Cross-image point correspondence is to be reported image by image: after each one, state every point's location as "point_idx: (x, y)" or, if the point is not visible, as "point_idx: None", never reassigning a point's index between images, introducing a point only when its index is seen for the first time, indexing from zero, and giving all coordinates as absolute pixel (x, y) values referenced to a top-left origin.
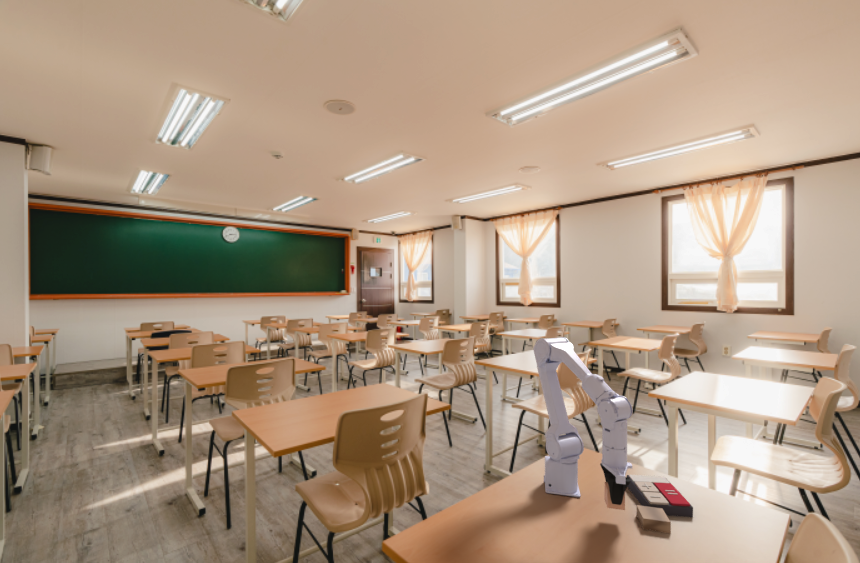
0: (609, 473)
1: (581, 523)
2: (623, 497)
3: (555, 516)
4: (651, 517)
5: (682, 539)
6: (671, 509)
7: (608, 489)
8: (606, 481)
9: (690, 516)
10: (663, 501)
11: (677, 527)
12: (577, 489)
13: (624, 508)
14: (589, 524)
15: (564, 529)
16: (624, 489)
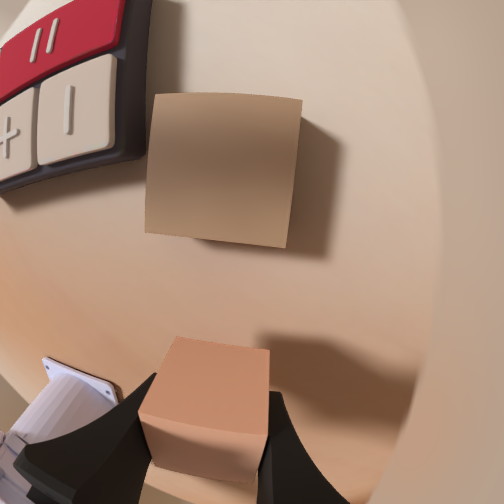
0: (130, 498)
1: None
2: (265, 408)
3: None
4: (268, 193)
5: (335, 85)
6: (133, 53)
7: (249, 481)
8: (148, 462)
9: (151, 2)
10: (100, 76)
11: (238, 63)
12: (80, 381)
13: (268, 357)
14: None
15: None
16: (322, 479)
